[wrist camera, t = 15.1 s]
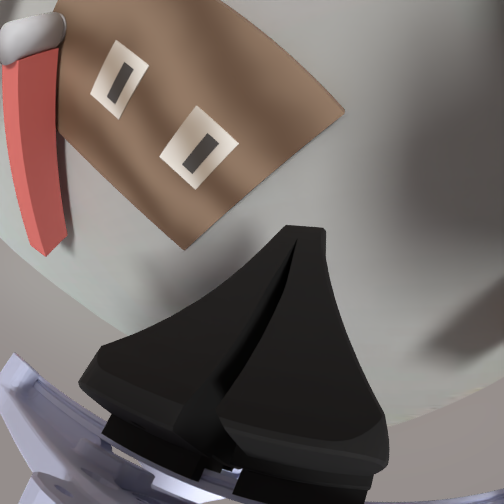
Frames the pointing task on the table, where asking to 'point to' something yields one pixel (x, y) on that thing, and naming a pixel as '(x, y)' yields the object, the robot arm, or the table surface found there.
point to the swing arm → (33, 123)
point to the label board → (181, 105)
